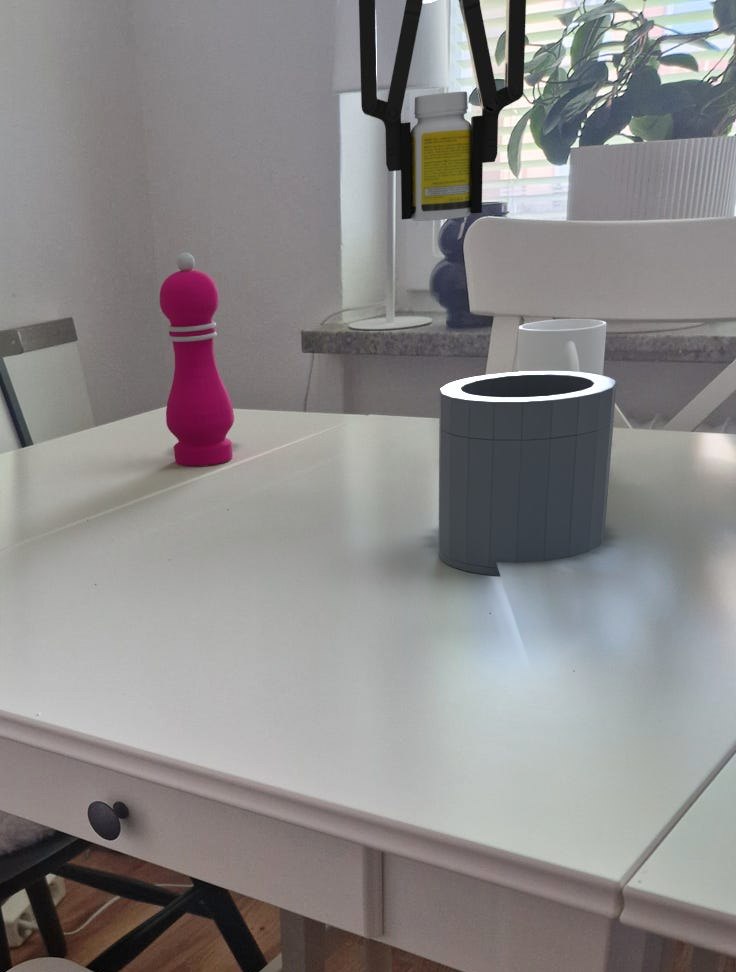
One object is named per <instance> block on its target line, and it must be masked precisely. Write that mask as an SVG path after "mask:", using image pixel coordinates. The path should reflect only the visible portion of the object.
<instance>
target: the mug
mask: <svg viewBox="0 0 736 972" xmlns="http://www.w3.org/2000/svg"><path fill="white" fill-rule="evenodd" d="M607 324H608V323H607V322H606V321H604V320H602V319H601V320H600V319H594V318H593V319H592V318H559V319H546V320H538V321H533V322H527V323H524V324H521V325H519V326H518V330H517V331H518V332H517V354H516V355H517V357H516V358H517V359H516V372H528V371H529V372H530V371H566V372H582V373H590V374H597V375H602V376H604V366H605V365H604V363H605V354H606V353H605V351H606V339H607V338H606V336H607V327H608V326H607Z"/></svg>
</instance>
